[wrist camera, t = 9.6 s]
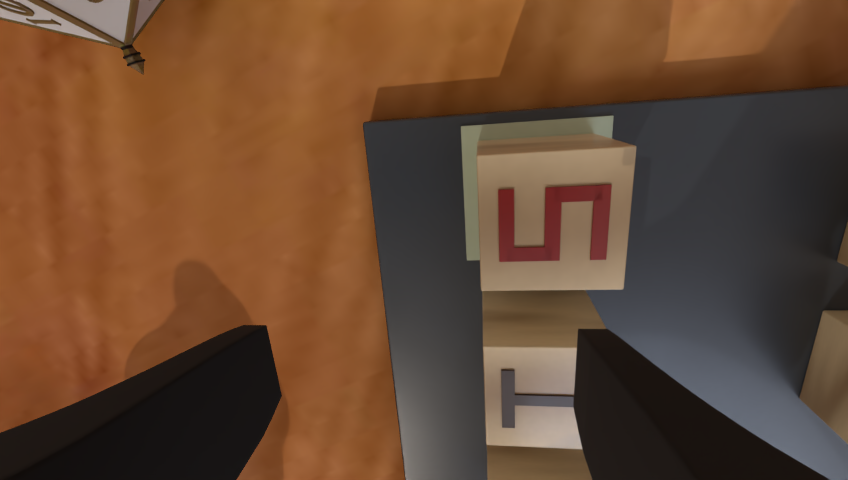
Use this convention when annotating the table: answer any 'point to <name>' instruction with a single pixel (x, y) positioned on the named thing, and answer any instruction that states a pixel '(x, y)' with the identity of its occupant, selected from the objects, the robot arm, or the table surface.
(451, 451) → the letter board
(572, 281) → the block
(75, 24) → the game die
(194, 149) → the table surface
